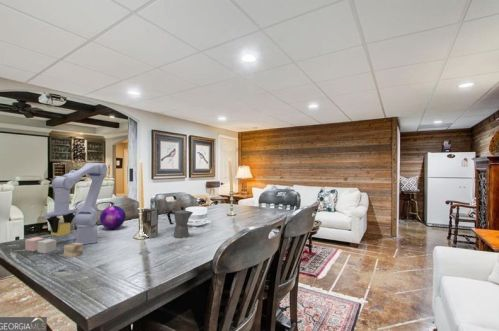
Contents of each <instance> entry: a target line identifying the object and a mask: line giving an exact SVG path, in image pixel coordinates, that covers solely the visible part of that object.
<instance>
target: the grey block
mask: <svg viewBox="0 0 499 331" xmlns="http://www.w3.org/2000/svg"><path fill="white" fill-rule="evenodd" d="M36 251H37V253H41V254H48V253H51V252H54V251H57V239H53V238H47V239H44V240H43V241H39V242H38V250H36Z"/></svg>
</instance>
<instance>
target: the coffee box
mask: <svg viewBox="0 0 499 331" xmlns="http://www.w3.org/2000/svg"><path fill="white" fill-rule="evenodd" d="M138 221H139V222H138V224H139V225H138V227H139V228H138V231H139V230H140V219H138ZM142 221H143V232H144V234H146V235H147V236H148V237H149V238H148V239H153V238H156V237H158V235H159V234H158V231H159V230H158V229H159V209H156V208H155V209H154V208H144V211H143V212H142Z"/></svg>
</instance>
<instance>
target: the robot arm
mask: <svg viewBox="0 0 499 331" xmlns="http://www.w3.org/2000/svg"><path fill="white" fill-rule="evenodd" d="M107 173H108V166H107V165H106V163H105V162H102V163H100V162H87V163H85V164H84V165H83V166H82V167H80V168H79V169H78V170H75V169H74V170H70V171H69V172H68V173H65V174H63V175H62V176H57V177H55V178H53V180H52V182H51V187H52V189H53V193H54V201H53V203H54V205H53V206H54V208H53V211H52V212H48V213H44V214H43V219H45V220H47V222H48V223H49V224H48V225H50V228H51V229H52V232H53V233H57V231H58V223H60V220H61V218H60V217H62V218H63V222H66V223H70V225H71V224H72V222H73V225H75V227H76V240H75V242H74V243H80V244H83V245H88V244H96V243H98V224H96V223H98V222H97V221H98V214H99V213H98V210H96V209H95V208H96V204H97V201H98V199H99V195H100V191H101V189H102V185H103V182H104V180H105V179H106V176H107ZM86 175H87V177H88V178H89V179H90V180H91V184H90V186H89V189H88V193H87V195H86V197H85V198H86V199H85V200H84V204H83V207H81V208H79V209H76V208H73V209H70V197H71V195H70V194H71V190H72V189H73V186H74V185H75V184H76V183H78V182H79V181H81V180H82V178H83V176H86Z"/></svg>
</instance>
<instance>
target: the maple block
mask: <svg viewBox="0 0 499 331" xmlns="http://www.w3.org/2000/svg"><path fill="white" fill-rule="evenodd" d="M83 246H84V244H80V243H75V242H73V243H69V244H66V245H63V257H64V258H69V257H70V259H74V258H76V257H78V256H82V255H83ZM73 257H74V258H73Z"/></svg>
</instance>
